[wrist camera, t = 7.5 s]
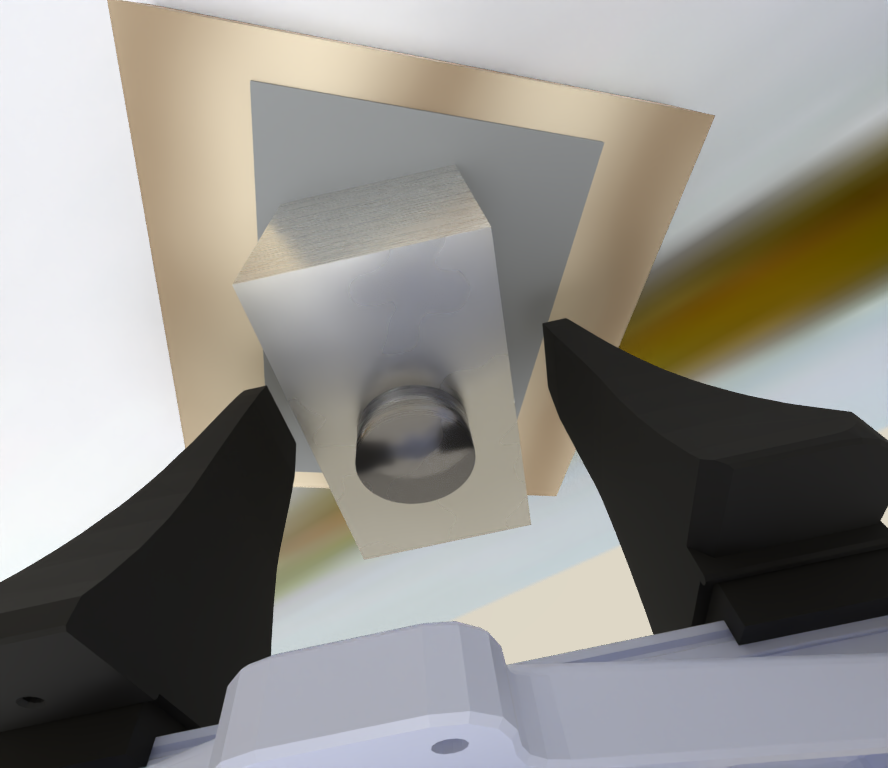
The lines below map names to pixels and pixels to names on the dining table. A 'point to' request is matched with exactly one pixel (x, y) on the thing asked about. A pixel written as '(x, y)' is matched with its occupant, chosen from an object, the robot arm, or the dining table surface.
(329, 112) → the stand
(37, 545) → the dining table surface
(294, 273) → the housing
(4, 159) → the dining table surface
